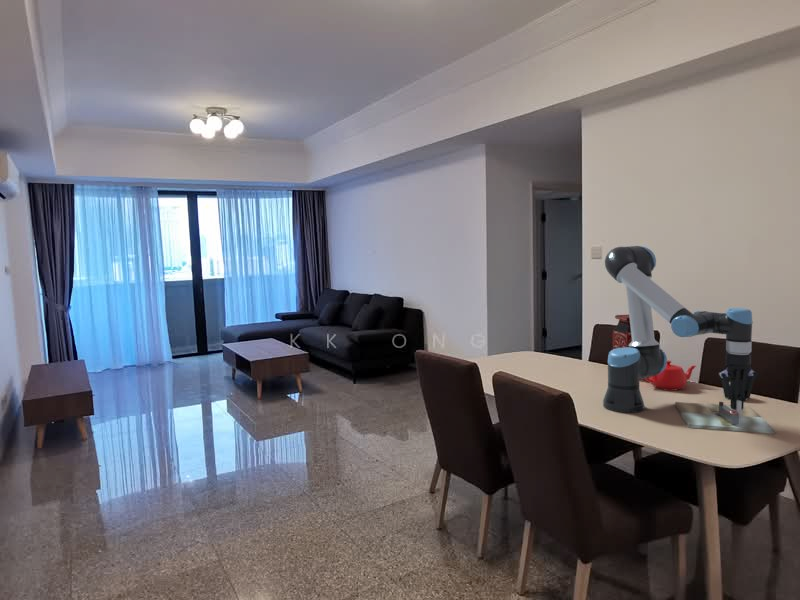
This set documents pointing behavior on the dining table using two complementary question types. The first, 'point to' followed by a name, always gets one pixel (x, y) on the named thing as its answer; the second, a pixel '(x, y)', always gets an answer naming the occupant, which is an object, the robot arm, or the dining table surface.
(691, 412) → the lock board
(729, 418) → the lever
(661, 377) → the teapot
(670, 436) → the dining table surface
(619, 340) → the vase
